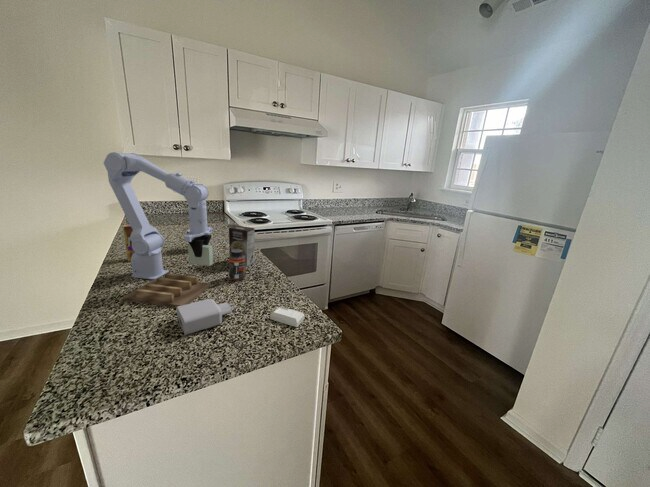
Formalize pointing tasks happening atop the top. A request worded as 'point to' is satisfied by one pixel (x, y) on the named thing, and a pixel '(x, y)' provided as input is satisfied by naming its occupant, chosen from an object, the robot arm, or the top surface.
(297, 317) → the soap bar
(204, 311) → the grey bottle
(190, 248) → the pale green block
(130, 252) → the candy box
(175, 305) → the dish rack
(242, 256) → the supplement bottle
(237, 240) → the coffee box
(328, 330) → the top surface
